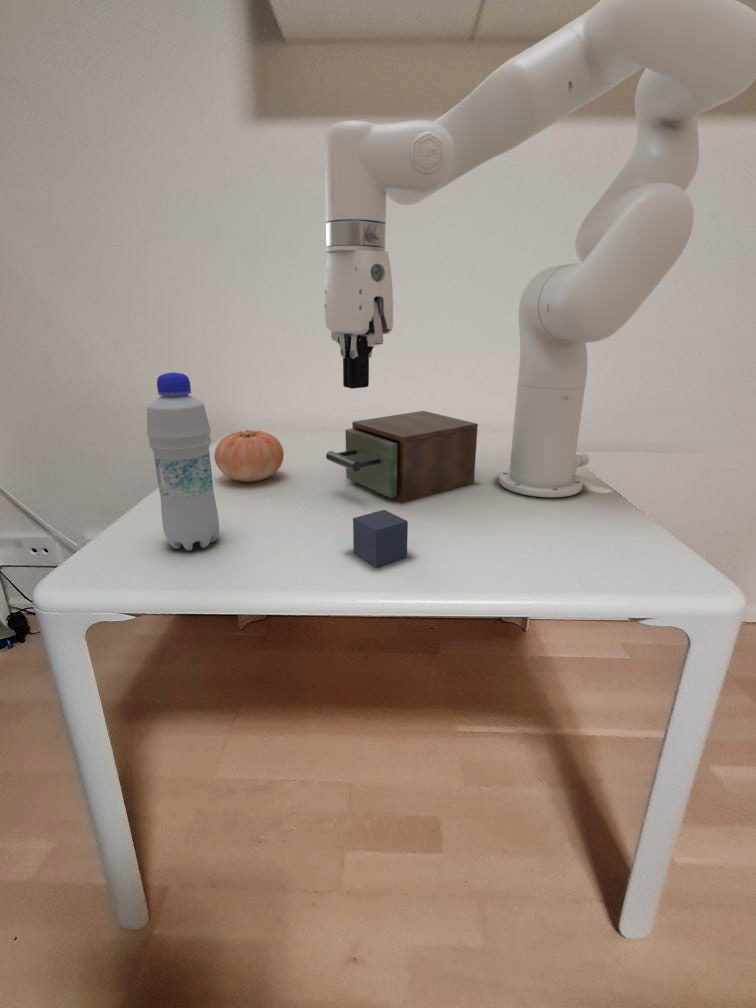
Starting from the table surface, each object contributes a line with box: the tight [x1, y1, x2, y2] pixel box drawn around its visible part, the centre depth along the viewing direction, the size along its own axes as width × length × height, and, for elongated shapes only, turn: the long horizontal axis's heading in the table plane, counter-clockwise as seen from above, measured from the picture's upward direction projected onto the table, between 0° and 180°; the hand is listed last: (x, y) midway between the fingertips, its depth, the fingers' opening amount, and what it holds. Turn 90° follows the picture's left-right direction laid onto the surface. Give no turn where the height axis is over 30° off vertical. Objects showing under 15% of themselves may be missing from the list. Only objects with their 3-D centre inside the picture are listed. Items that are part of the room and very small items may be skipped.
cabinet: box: [351, 410, 479, 503], centre depth 85 cm, size 15×13×10 cm
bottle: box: [146, 371, 220, 551], centre depth 62 cm, size 7×7×20 cm
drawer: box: [325, 428, 400, 499], centre depth 82 cm, size 18×11×8 cm, turn 127°
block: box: [352, 509, 409, 568], centre depth 61 cm, size 4×4×4 cm
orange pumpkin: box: [213, 429, 285, 483], centre depth 87 cm, size 11×11×8 cm
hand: (356, 386), depth 75 cm, fingers closed
